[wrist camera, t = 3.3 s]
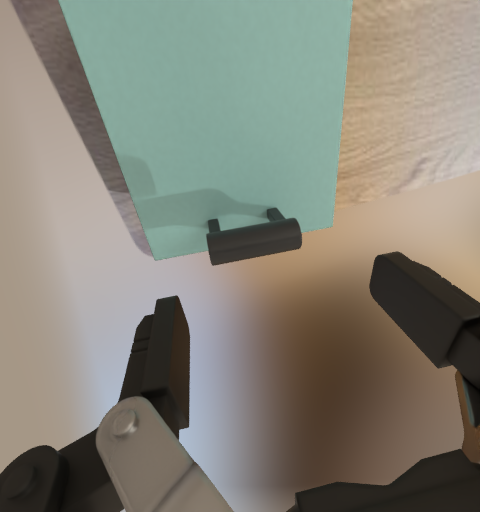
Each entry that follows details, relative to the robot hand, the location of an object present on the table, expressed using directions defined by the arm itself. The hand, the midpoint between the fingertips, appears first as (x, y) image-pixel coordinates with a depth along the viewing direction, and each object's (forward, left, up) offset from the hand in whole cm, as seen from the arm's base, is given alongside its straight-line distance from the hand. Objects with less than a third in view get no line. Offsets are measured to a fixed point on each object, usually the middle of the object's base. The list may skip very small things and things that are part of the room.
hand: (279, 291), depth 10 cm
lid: (0, +6, -9) cm, 11 cm away
